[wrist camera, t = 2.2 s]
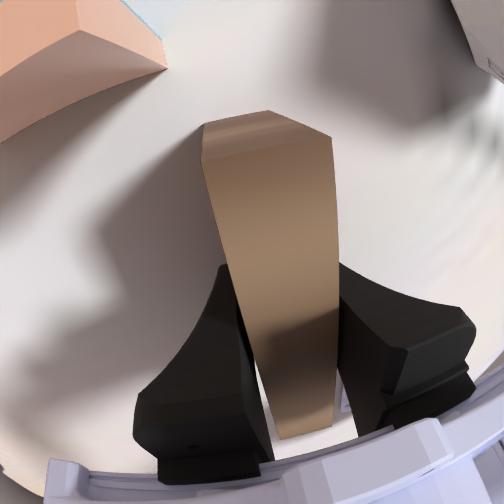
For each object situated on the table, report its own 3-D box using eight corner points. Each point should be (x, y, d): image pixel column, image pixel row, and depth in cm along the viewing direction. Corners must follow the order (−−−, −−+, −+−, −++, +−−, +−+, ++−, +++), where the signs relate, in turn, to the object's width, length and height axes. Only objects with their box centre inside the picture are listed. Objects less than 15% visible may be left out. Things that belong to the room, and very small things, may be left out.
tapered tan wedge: (300, 335, 17) (332, 426, 12) (258, 345, 17) (279, 440, 11) (268, 109, 10) (332, 137, 5) (203, 123, 10) (199, 162, 5)
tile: (168, 68, 9) (79, 29, 2) (0, 143, 9) (-135, 231, 2) (161, 39, 8) (71, -46, 1) (-6, 119, 8) (-147, 191, 1)
